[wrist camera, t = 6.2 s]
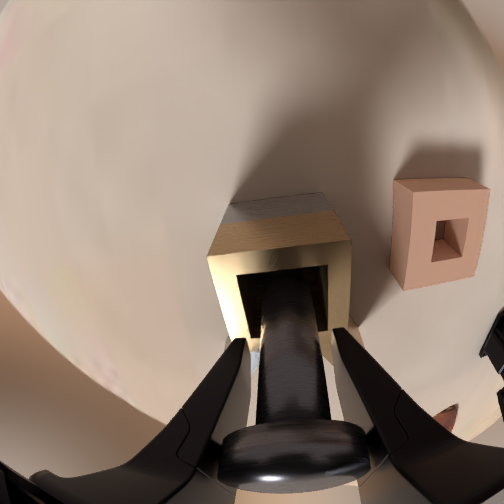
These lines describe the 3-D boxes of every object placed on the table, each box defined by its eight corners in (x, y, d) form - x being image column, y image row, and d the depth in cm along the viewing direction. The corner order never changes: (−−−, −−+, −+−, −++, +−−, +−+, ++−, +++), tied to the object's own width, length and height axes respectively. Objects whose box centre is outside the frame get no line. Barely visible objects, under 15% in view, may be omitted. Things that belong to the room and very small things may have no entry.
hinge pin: (324, 241, 11) (387, 448, 3) (326, 309, 13) (357, 484, 5) (238, 252, 11) (195, 461, 4) (252, 317, 13) (235, 493, 6)
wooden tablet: (397, 427, 30) (399, 436, 28) (455, 399, 27) (458, 407, 25) (410, 456, 40) (411, 462, 38) (448, 438, 37) (450, 444, 35)
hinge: (364, 188, 14) (412, 232, 9) (357, 331, 19) (376, 395, 14) (187, 211, 15) (147, 263, 10) (227, 345, 20) (215, 410, 15)
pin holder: (467, 177, 13) (489, 189, 11) (456, 257, 16) (474, 275, 13) (393, 179, 14) (413, 192, 11) (389, 269, 16) (402, 290, 14)
